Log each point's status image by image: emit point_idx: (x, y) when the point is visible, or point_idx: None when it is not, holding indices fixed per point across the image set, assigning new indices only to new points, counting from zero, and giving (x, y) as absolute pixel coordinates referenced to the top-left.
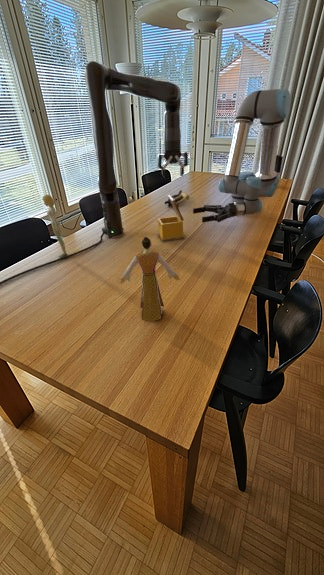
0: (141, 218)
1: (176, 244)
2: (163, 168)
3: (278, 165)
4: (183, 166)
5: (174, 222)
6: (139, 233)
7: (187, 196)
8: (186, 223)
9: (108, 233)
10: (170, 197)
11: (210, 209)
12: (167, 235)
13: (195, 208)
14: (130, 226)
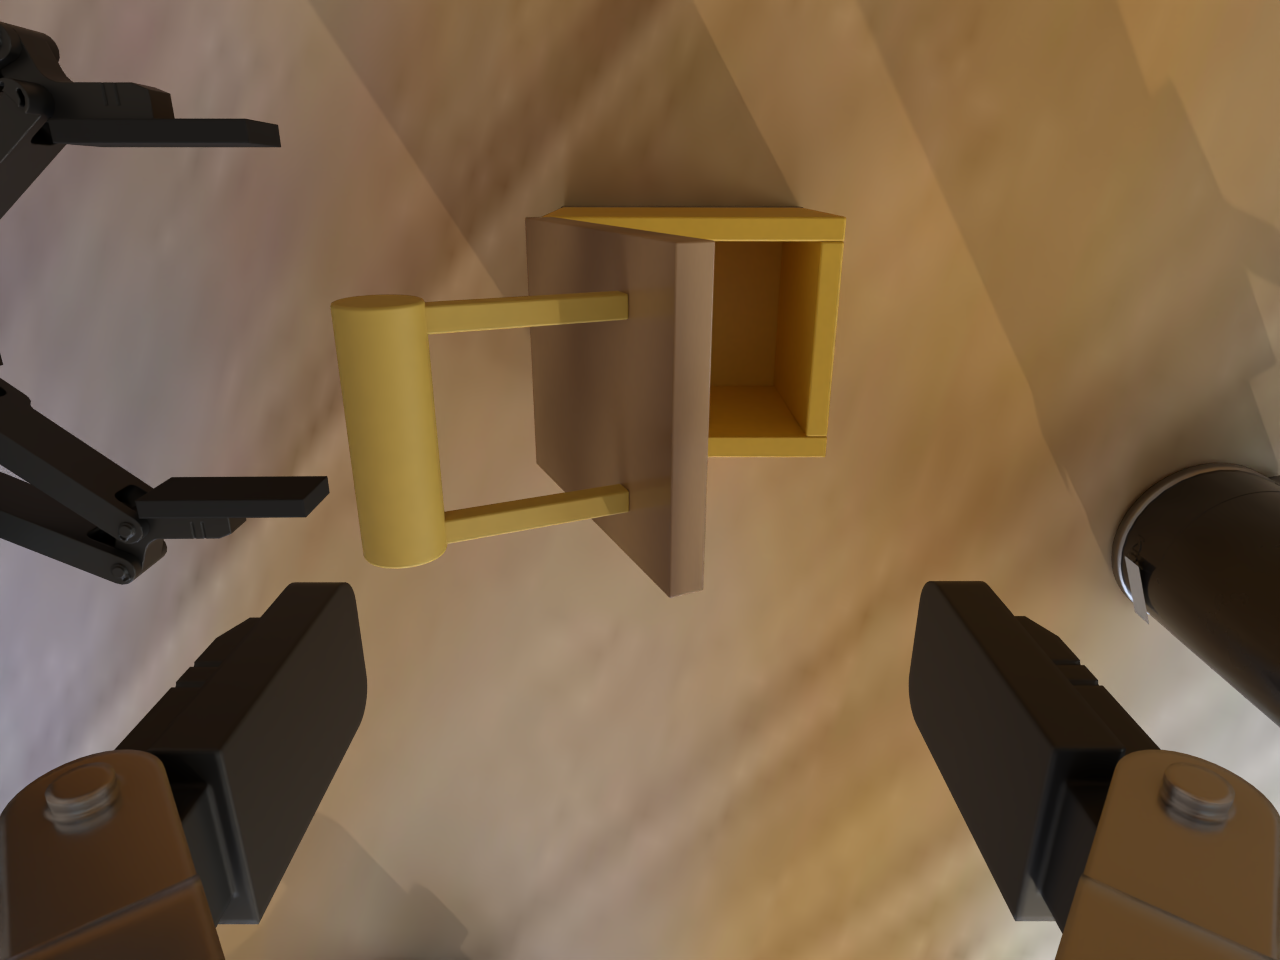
0: (825, 826)
1: (678, 75)
2: (1222, 779)
3: None
4: (60, 784)
5: (661, 231)
6: (960, 494)
7: (367, 303)
8: (423, 575)
9: None
10: (691, 450)
11: (69, 456)
12: (750, 209)
13: (273, 504)
14: None
